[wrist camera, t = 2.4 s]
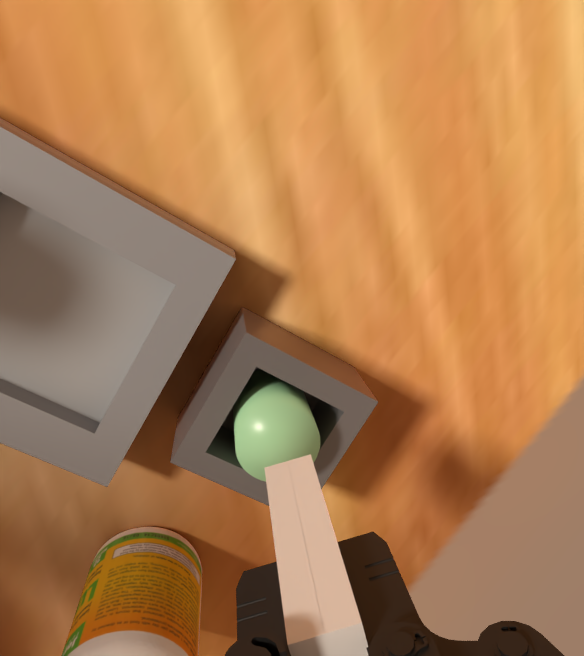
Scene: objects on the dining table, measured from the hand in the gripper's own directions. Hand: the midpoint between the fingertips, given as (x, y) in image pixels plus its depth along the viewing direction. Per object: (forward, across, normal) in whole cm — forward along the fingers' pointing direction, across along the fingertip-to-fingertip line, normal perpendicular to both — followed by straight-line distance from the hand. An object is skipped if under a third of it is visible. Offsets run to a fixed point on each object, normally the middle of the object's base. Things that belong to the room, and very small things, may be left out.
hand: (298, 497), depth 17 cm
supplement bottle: (+9, -8, -7) cm, 14 cm away
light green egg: (+7, 0, 0) cm, 7 cm away
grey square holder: (+8, 0, 0) cm, 8 cm away
